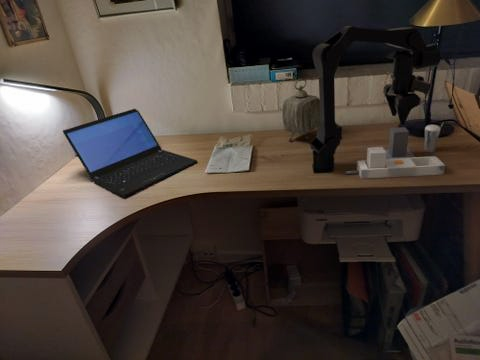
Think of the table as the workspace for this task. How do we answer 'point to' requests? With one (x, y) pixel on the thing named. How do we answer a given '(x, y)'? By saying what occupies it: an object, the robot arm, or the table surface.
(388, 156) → the slate mat
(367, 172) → the power strip
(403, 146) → the grey rectangular block
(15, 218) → the table surface
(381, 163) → the block
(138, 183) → the laptop
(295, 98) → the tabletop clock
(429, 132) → the milkshake
